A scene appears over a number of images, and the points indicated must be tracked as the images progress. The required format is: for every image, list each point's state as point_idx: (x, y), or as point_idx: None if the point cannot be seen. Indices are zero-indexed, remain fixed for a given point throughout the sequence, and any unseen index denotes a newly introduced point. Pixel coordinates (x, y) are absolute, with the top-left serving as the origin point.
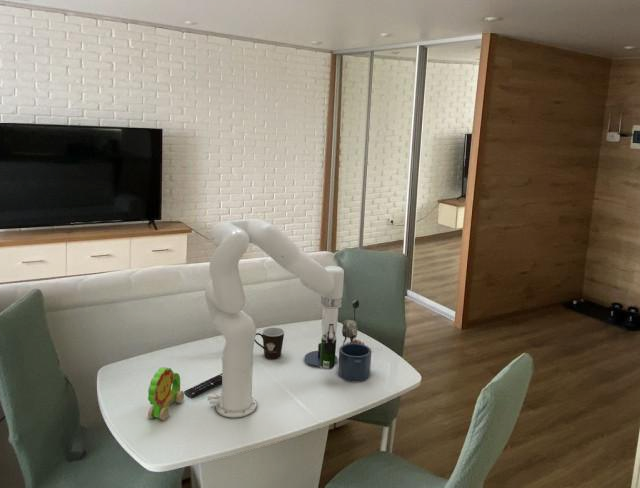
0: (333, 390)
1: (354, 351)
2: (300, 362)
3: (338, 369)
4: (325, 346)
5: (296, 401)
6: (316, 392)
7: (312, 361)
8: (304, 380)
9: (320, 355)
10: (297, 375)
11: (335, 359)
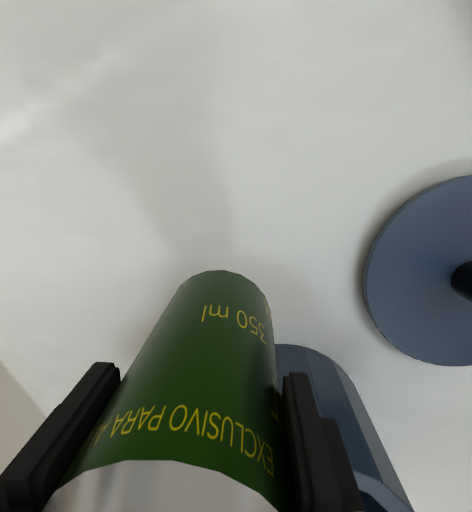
0: (128, 302)
1: (377, 507)
2: (459, 147)
3: (293, 357)
4: (51, 425)
5: (8, 111)
6: (104, 221)
7: (426, 223)
8: (227, 164)
9: (208, 300)
10: (288, 122)
11: (427, 356)
